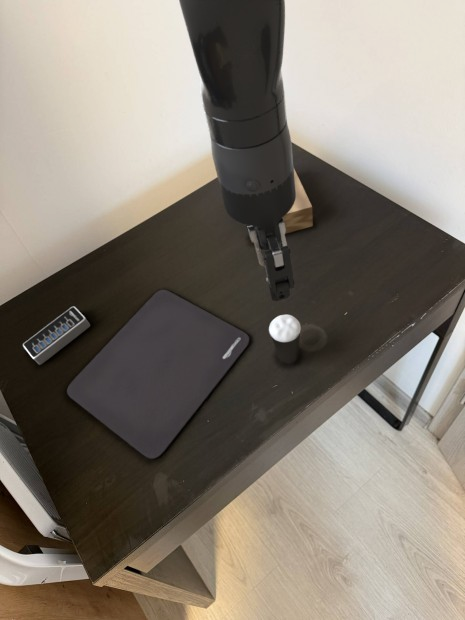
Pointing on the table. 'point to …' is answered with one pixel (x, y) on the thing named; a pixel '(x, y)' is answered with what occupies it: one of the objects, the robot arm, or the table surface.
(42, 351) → the multiport hub
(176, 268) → the table surface
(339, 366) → the table surface
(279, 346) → the milkshake
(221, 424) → the table surface
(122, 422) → the mouse pad
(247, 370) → the table surface
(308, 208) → the shelf
